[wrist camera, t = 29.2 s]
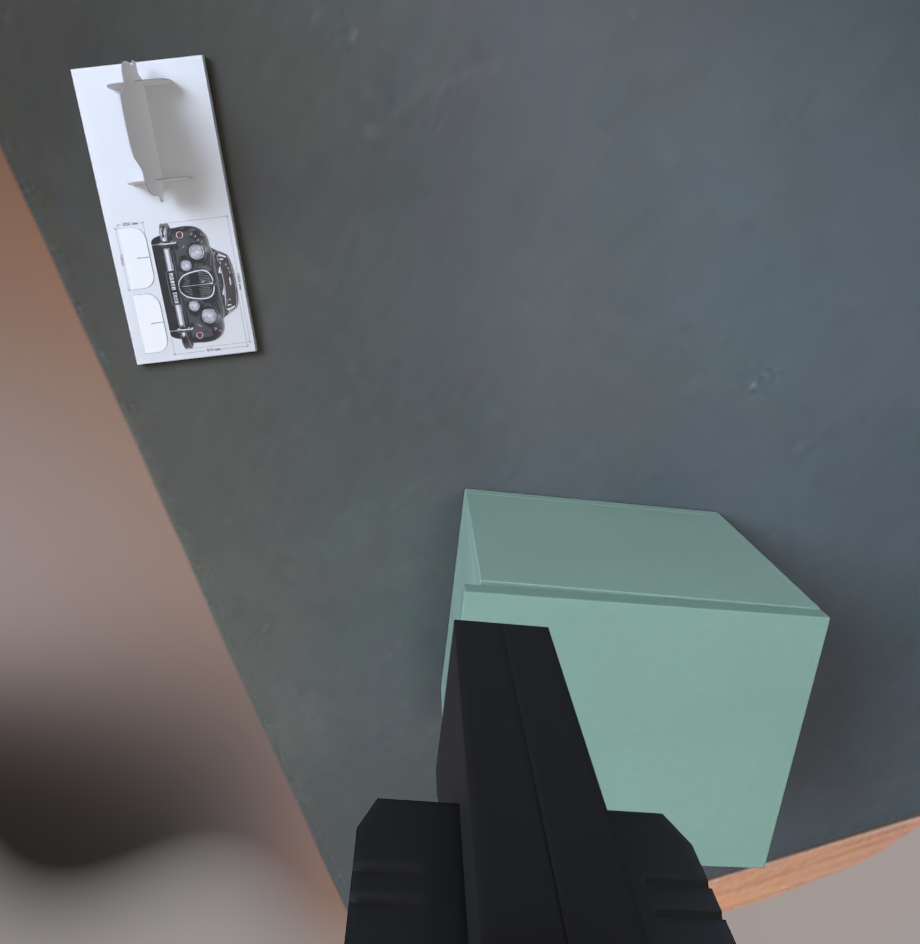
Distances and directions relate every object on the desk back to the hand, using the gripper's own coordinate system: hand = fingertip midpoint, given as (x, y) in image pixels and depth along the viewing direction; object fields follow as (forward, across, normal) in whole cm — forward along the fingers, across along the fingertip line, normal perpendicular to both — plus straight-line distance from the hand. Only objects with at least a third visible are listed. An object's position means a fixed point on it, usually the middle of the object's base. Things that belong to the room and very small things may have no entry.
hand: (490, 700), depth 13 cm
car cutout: (+35, -15, +6) cm, 38 cm away
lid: (+21, +10, -14) cm, 27 cm away
